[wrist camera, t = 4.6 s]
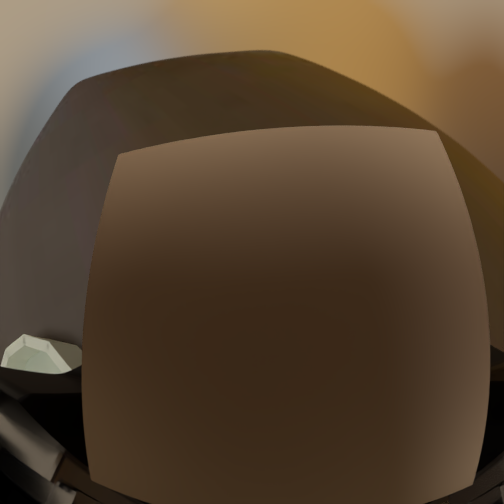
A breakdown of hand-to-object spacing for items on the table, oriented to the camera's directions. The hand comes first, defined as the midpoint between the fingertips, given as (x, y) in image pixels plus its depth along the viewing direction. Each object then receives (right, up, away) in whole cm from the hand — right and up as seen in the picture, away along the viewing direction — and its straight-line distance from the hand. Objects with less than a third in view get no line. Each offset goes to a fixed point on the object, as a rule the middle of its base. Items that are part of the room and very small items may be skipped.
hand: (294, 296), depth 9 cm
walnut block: (+1, -4, +6) cm, 7 cm away
